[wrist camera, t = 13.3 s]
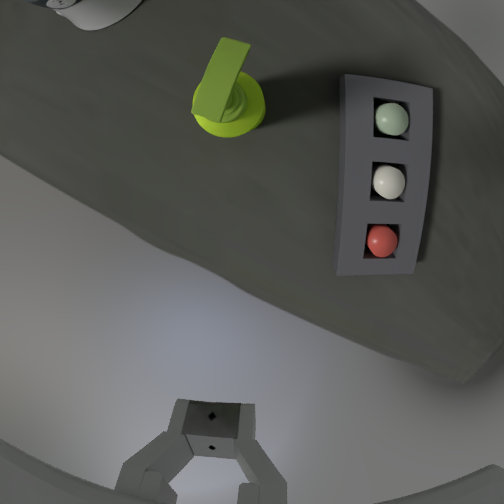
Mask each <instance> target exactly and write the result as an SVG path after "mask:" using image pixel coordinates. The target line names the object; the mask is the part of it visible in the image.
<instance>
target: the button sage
mask: <svg viewBox="0 0 504 504" xmlns="http://www.w3.org/2000/svg"><path fill="white" fill-rule="evenodd" d="M373 126H374V128H375V129H376V130H377V131H379V132H380V133H383V134H389V135H400V134H402V133H403V132H404V131H405V130H406V129H407V127H408V115H407V113H406V111H405V110H404V108H403V107H401V106H400V105H398V104H395V103H387V104H379V105H377V106H376V107H375V108H374V122H373Z"/></svg>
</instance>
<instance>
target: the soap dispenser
mask: <svg viewBox="0 0 504 504" xmlns="http://www.w3.org/2000/svg"><path fill="white" fill-rule="evenodd" d="M250 47H251V45H250V44H248V43H244V42H241V41H237V40H234V39H230V38H226V37H222V38H221V40H220V42H219V44H218V46H217V48H216V49H215V51H214V54H213V56H212V58H211V60H210V62H209V64H208V67H207V69H206V72H205V74H204V77H203V79H202V82H201V83H200V84H199V86H198V87H197V89H196V91H195V93H194V96H193V104H192V105H193V108H192V111H191V113H192V114H194V116H195V118H196V120H197V122H198V123H199V124H200V126H201V127H202V128H203V129H205V130H206V131H207V132H209V133H211V134H213V135H215V136H219V137H236V136H239V135H242V134H244V133H246V132H248V131H250V130H252V129H254V128H256V127H257V126H258V125H259V124H260V123H261V122H262V120H263V118H264V116H265V111H266V107H265V101H264V96H263V92H262V90H261V88H260V86H259V84H258V83H257V82H256V81H255V80H254V79H253V78H252V77H251V76H249V75H248V74H246V73H244V72H241V69H242V66H243V64H244V62H245V60H246V57H247V55H248V53H249V50H250Z"/></svg>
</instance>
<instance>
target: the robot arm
mask: <svg viewBox="0 0 504 504" xmlns="http://www.w3.org/2000/svg"><path fill="white" fill-rule="evenodd" d="M24 1H26V2H29V3H32V4H35V5H38V6H41V7H46V8H51V9H54V10H55V11H56V12H57V13H58V14H60V15H62V16H65V17H66V18H68V19H69V20H70V21H71V22H72V23H73V24H74V25H76V26H77V27H79V28H81V29H84V30H97V29H102V28H105V27H108V26H110V25H112V24H114V23H116V22H118V21H119V20H121V19H122V18H124V17H125V16H127V15H128V14H129V13H130V12H131V11H133V10H134V9H135V8H136V7H137V6H138V4H139V3H140V2H141V1H142V0H24ZM255 422H256V419H255V404H241V403H221V402H204V401H194V400H185V399H177V401H176V403H175V406H174V409H173V413H172V416H171V419H170V423H169V426H168V430H167V432H162V433H161V434H160V435H159V436H157V437H156V438H155V439H154V440H152V441H151V442H150V443H149V444H147V445H146V446H145V447H144V448H142V449H141V450H140V451H139V452H137V453H136V454H135V455H133V456H132V457H131V458H129V459H128V460H127V461H125V462H124V463H123V466H122V468H121V471H120V474H119V477H118V480H117V483H116V486H115V490H113V489H110V488H107V487H104V486H100V485H98V484H95V483H92V482H90V481H87V480H84V479H82V478H79V477H77V476H74V475H72V474H69V473H67V472H65V471H63V470H60V469H58V468H55V467H53V466H51V465H49V464H47V463H45V462H43V461H41V460H39V459H37V458H35V457H33V456H32V455H30V454H28V453H26V452H24V451H22V450H20V449H19V448H17V447H15V446H13V445H12V444H10V443H9V442H7V441H5V440H4V439H2V438H0V504H176V500H177V494H176V492H175V491H174V490H173V489H172V488H171V486H170V485H169V484H168V483H169V482H170V481H171V480H172V479H173V478H174V477H175V476H176V475H177V474H178V473H179V472H180V471H181V470H182V469H183V468H184V467H185V466H186V465H187V463H188V462H189V461H190V460H191V459H192V458H193V457H194V455H195V456H206V457H218V458H228V459H236V460H237V462H238V464H239V465H240V467H241V469H242V471H243V472H244V474H245V476H246V477H247V479H248V481H249V482H250V483H242V484H241V485H240V486H239V492H238V501H237V504H287V482H286V481H285V479H284V478H283V477H282V475H281V474H280V473H279V471H278V470H277V469H276V467H275V466H274V464H273V463H272V462H271V460H270V459H269V458H268V456H267V455H266V453H265V452H264V450H263V449H262V448H261V446H260V445H259V443H258V442H257V440H255V430H256V427H255V425H256V423H255ZM375 504H504V469H503V468H501V467H499V466H497V465H494V464H493V465H488V466H486V467H484V468H482V469H480V470H477V471H475V472H473V473H470V474H468V475H466V476H463V477H461V478H459V479H456V480H453V481H451V482H448V483H445V484H443V485H440V486H437V487H434V488H431V489H428V490H425V491H422V492H419V493H415V494H412V495H408V496H405V497H401V498H397V499H393V500H389V501H384V502H380V503H375Z"/></svg>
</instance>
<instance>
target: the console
mask: <svg viewBox="0 0 504 504" xmlns="http://www.w3.org/2000/svg"><path fill="white" fill-rule="evenodd" d="M339 96H340V147H339V180H338V200H337V216H336V230H335V243H334V254H333V264H332V266H333V268H334V271H335V273H336V276H345V275H386V274H413V273H414V269H415V265H416V260H417V255H418V250H419V245H420V240H421V234H422V229H423V223H424V216H425V209H426V202H427V195H428V186H429V177H430V166H431V152H432V132H433V89H432V88H428V87H424V86H419V85H414V84H410V83H404V82H399V81H394V80H388V79H381V78H375V77H368V76H360V75H351V74H344V75H342V76H340V77H339ZM373 99H376V100H384V101H391V102H397V103H400V106H401V107H403V108H404V110H405V111H406V113H407V115H408V127H407V129H406V130H405V131H404V132H403V133H402V134H400V139H395V138H386V137H376V136H373V122H374V102H373ZM372 161H375V162H388V163H398V170H399V171H401V173H402V174H403V176H404V179H405V187H404V190H403V192H402V193H401V194H400V195H399V196H398V197H396V198H394V199H387V198H384V197H383V196H379V195H370V190H371V176H372ZM367 224H392V231H393V232H394V233H395V234H396V236H397V246H396V248H395V250H394V251H393V252H392V253H391V254H390V255H388V256H386V257H378V256H375V255H374V254H373V253H372V251H371V250H370V249H364V248H365V240H366V232H367Z"/></svg>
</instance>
